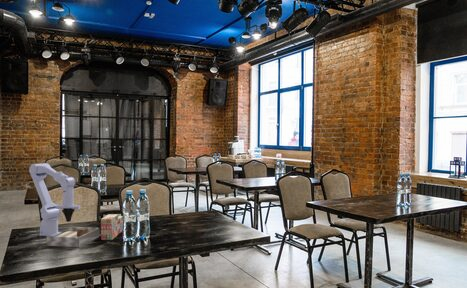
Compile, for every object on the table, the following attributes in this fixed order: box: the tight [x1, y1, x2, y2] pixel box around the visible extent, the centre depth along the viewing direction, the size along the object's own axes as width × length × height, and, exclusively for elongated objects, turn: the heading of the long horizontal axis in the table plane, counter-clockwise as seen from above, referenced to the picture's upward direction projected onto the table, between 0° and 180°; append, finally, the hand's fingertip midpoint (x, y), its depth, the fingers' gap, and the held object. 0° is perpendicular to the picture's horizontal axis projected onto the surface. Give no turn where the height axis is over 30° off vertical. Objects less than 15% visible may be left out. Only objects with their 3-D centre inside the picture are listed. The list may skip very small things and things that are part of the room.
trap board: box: [46, 226, 101, 248], centre depth 208 cm, size 19×21×5 cm
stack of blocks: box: [100, 213, 124, 241], centre depth 221 cm, size 21×6×12 cm, turn 179°
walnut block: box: [77, 227, 89, 237], centre depth 207 cm, size 4×4×4 cm
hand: (68, 221), depth 215 cm, fingers closed
